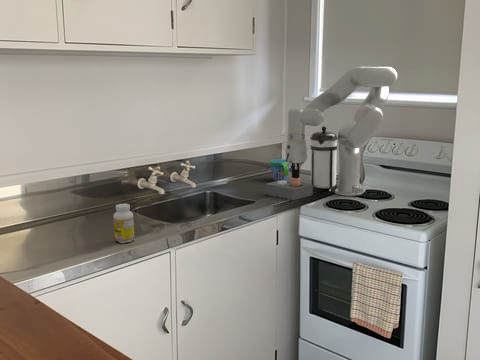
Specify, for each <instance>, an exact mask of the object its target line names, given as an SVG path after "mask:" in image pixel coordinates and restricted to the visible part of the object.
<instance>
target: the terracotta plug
mask: <svg viewBox="0 0 480 360" xmlns="http://www.w3.org/2000/svg"><path fill="white" fill-rule="evenodd" d="M290 180H291V186H292V187H300V186H301V182H302V177H300V176H299V178H292V176H291V179H290Z"/></svg>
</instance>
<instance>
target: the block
mask: <svg viewBox="0 0 480 360" xmlns="http://www.w3.org/2000/svg"><path fill="white" fill-rule="evenodd" d="M280 181H287V184H283V185H282V184H277V182H278V181H275V180H274V181H272V182H268V183H265V195H267V194H268V195H269V196H272V195H274V196H273V197H276V196H279V197H278V198H281V197H284V198H283V199H285V198H288V199H287V200H290V199H291V200H290V201H297V200H300V199H305V198H306V197H307V198H308V197H311V196H313V191H312V188H313V185H312V184H311V183H307V182H306V183H305V182H302V181H301V186H300V187H292V186H291V179H287V180H286V179H284V180H280ZM268 195H267V196H268Z"/></svg>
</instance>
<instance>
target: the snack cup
mask: <svg viewBox="0 0 480 360" xmlns="http://www.w3.org/2000/svg"><path fill="white" fill-rule="evenodd" d="M269 165H270V169H271V177H272V180H273V181H274V182H275V181H280V180H284V179H286V180H288V178H289V170H290V166H287V162H286V158H285V159H284V158H283V159H282V158H281V159H279V158H277V159H272V160H269Z"/></svg>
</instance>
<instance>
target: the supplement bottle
mask: <svg viewBox="0 0 480 360" xmlns="http://www.w3.org/2000/svg"><path fill="white" fill-rule="evenodd" d="M130 206H131V205H130V204H128V203H119V204H116V205H115V209H116V212H114V213H113V215H112V216H113V217H112V218H113V231H114V239H115V238H116V239H121V240H127V239H131V238H133V237H134V238H135V225H134V224H135V223H134V222H135V221H134V213H133V212H132V211H130V209H131V208H130Z"/></svg>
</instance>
